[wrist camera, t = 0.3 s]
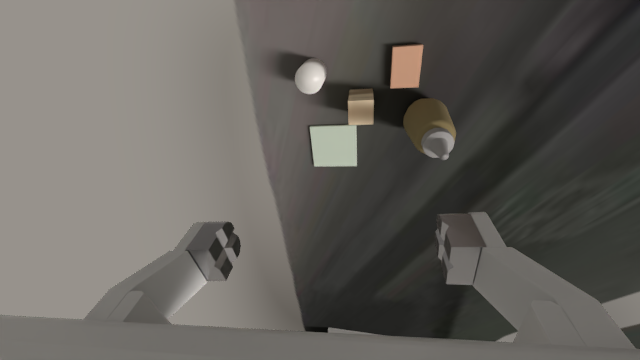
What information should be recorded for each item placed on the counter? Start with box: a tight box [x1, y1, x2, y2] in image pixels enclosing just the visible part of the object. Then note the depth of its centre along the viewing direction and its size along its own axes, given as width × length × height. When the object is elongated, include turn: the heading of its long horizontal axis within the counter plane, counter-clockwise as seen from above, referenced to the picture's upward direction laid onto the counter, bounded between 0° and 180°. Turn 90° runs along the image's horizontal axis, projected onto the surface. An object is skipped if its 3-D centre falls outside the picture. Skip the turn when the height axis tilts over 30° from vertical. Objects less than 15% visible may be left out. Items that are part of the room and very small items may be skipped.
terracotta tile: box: [390, 44, 423, 89], centre depth 48 cm, size 7×5×2 cm
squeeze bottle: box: [403, 98, 456, 160], centre depth 46 cm, size 8×8×18 cm
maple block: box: [348, 89, 374, 125], centre depth 50 cm, size 4×4×7 cm
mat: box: [310, 124, 357, 166], centre depth 60 cm, size 10×10×1 cm
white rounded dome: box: [295, 58, 327, 94], centre depth 49 cm, size 5×5×6 cm
